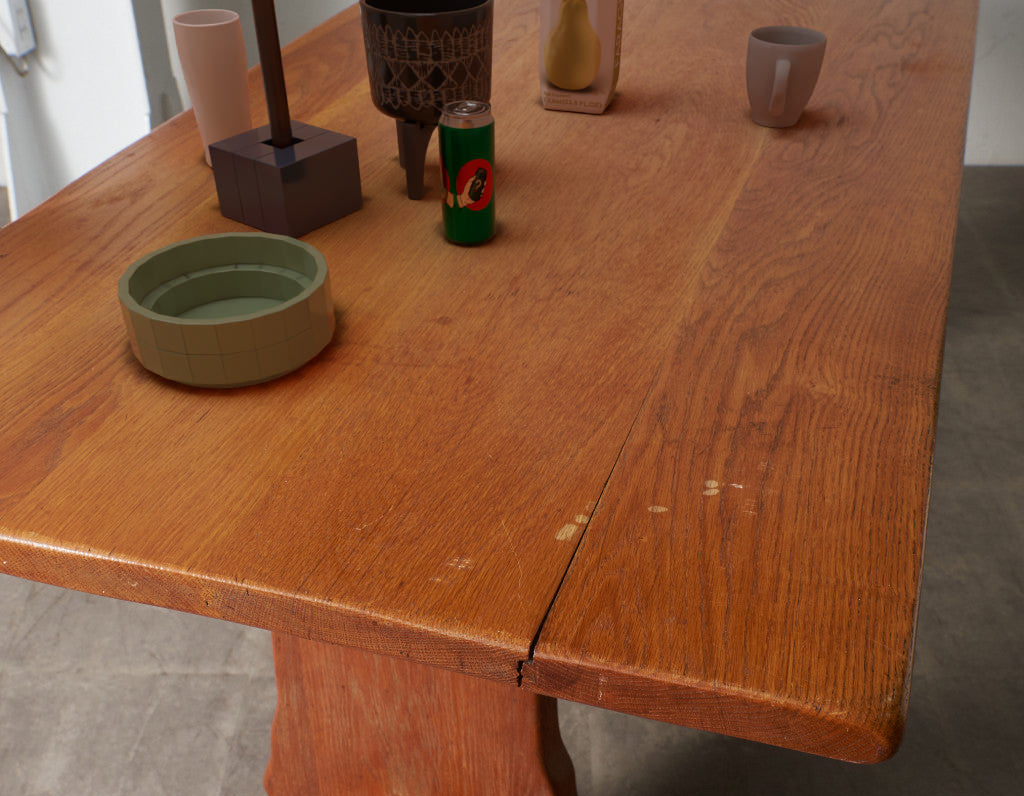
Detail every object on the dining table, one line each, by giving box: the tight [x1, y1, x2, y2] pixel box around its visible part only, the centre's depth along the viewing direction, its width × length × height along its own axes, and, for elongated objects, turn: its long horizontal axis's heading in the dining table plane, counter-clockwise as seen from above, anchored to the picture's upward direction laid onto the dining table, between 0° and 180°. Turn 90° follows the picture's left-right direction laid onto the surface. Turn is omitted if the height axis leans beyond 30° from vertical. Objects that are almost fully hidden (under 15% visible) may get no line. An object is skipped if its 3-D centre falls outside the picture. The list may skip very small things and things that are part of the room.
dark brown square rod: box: [250, 0, 294, 150], centre depth 95 cm, size 2×2×20 cm
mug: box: [745, 25, 828, 128], centre depth 118 cm, size 12×9×10 cm
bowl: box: [117, 231, 337, 389], centre depth 79 cm, size 16×16×6 cm
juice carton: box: [538, 0, 625, 115], centre depth 119 cm, size 9×8×24 cm
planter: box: [358, 0, 495, 201], centre depth 102 cm, size 13×13×18 cm
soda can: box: [437, 101, 497, 247], centre depth 93 cm, size 5×5×12 cm
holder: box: [208, 118, 364, 239], centre depth 99 cm, size 10×10×7 cm
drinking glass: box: [172, 8, 253, 169], centre depth 107 cm, size 7×7×15 cm
